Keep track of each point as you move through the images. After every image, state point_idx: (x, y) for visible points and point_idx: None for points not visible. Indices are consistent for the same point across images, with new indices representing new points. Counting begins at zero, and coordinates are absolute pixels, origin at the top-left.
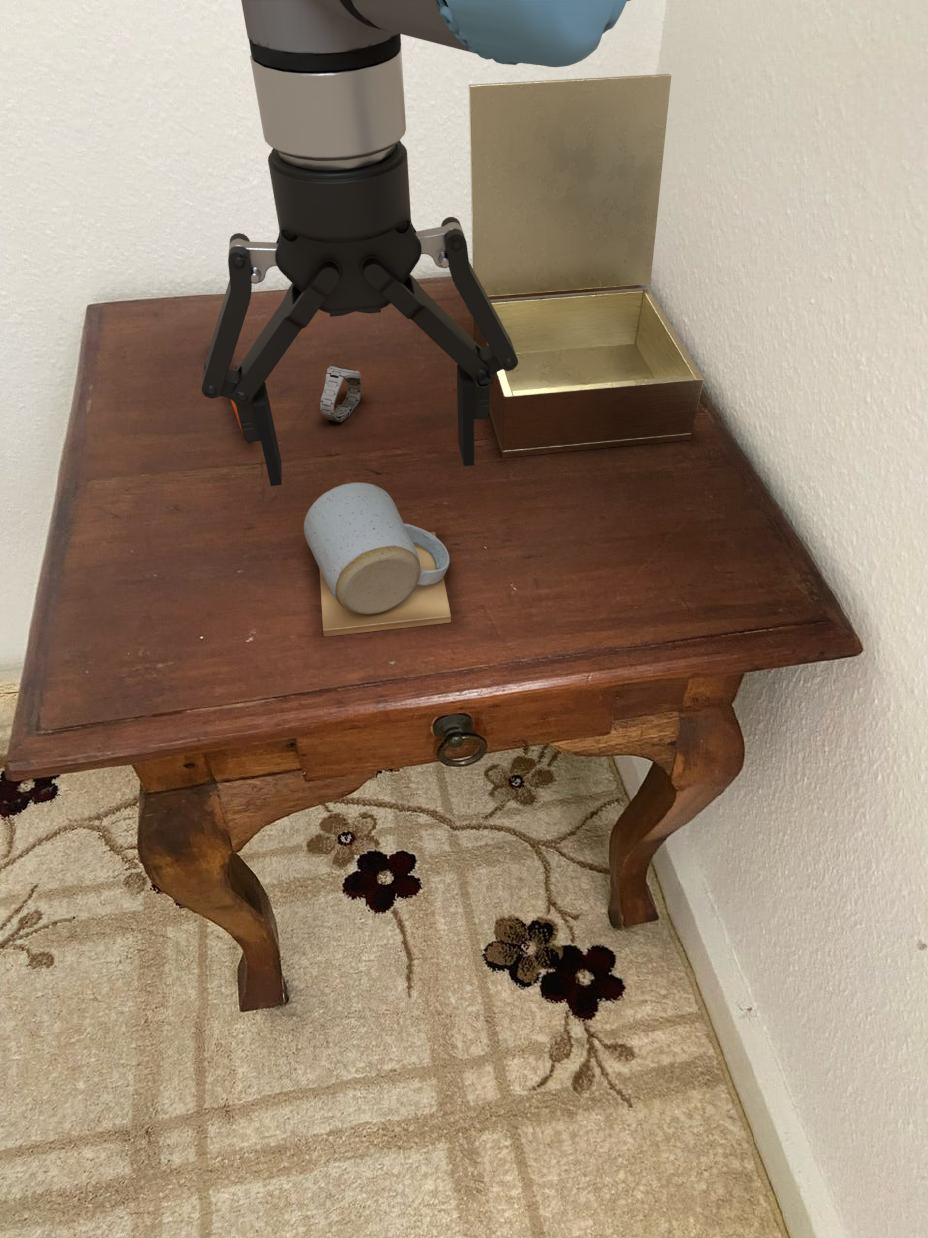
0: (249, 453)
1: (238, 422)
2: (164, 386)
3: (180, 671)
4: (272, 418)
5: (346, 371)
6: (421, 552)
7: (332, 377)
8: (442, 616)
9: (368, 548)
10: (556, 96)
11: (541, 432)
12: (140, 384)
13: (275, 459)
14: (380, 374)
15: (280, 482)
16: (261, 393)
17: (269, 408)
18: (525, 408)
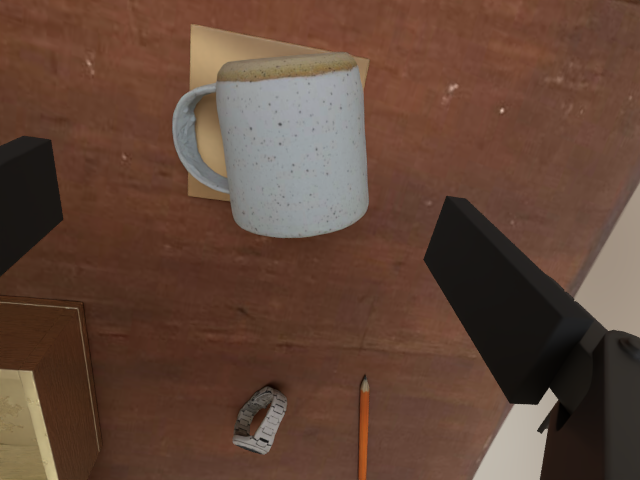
0: (368, 363)
1: (368, 402)
2: (419, 453)
3: (543, 61)
4: (462, 322)
5: (248, 444)
6: (212, 163)
7: (266, 439)
8: (203, 27)
9: (299, 81)
10: None
11: (9, 319)
12: (438, 458)
13: (475, 223)
14: (211, 439)
15: (449, 199)
16: (541, 365)
17: (489, 335)
18: (10, 351)
